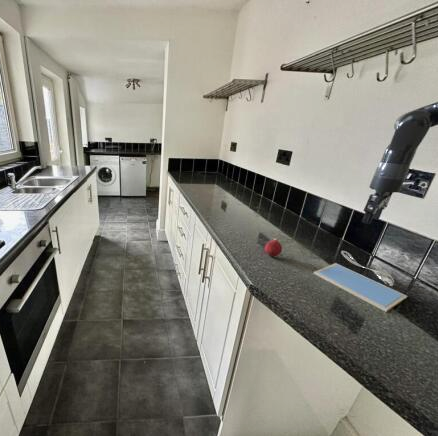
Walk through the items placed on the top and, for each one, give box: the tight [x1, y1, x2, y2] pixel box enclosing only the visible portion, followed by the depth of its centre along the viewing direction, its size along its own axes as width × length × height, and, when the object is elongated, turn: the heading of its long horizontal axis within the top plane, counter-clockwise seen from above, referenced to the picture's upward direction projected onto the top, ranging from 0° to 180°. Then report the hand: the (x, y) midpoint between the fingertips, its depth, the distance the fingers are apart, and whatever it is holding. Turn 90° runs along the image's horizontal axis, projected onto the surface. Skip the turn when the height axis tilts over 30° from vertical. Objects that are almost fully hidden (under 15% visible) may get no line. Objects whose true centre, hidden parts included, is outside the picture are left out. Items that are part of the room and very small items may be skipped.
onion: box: [264, 238, 283, 258], centre depth 90 cm, size 6×6×8 cm
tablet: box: [313, 262, 408, 313], centre depth 76 cm, size 14×20×1 cm
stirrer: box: [340, 250, 395, 287], centre depth 85 cm, size 20×4×5 cm
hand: (370, 220), depth 83 cm, fingers open, 8 cm apart
